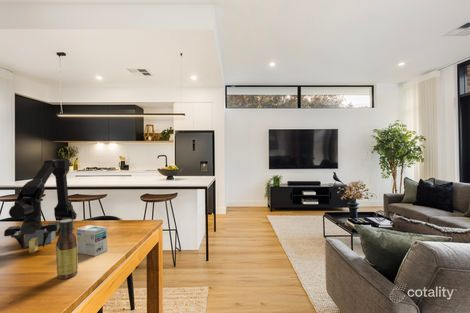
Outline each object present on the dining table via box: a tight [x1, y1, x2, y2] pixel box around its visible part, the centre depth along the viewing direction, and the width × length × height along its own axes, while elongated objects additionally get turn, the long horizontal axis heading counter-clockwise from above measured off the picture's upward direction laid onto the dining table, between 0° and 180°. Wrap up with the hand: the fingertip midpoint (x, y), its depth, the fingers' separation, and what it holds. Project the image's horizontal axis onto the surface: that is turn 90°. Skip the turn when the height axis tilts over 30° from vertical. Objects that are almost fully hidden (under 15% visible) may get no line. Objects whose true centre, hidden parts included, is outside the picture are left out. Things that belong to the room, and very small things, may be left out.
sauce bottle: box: [55, 219, 79, 280], centre depth 92 cm, size 6×6×20 cm
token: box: [28, 237, 39, 254], centre depth 115 cm, size 2×5×5 cm, turn 24°
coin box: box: [24, 224, 57, 247], centre depth 126 cm, size 10×9×7 cm
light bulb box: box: [76, 224, 108, 257], centre depth 113 cm, size 11×7×11 cm, turn 71°
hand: (33, 248), depth 115 cm, fingers open, 7 cm apart
